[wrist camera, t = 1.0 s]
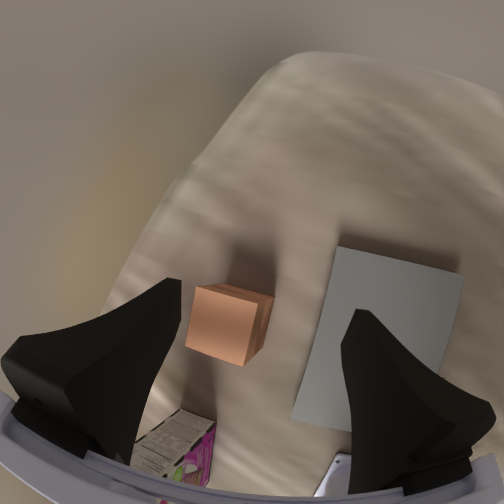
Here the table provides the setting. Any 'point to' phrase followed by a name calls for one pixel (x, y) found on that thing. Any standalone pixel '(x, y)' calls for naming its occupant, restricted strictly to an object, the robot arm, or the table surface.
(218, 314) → the block
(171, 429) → the candy bar box
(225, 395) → the table surface
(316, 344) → the board
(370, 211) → the table surface
